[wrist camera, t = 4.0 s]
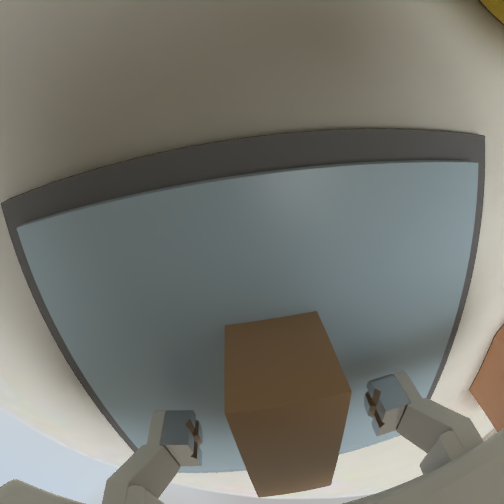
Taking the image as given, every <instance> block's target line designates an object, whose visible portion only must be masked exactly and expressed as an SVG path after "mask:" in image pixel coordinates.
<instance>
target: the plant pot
mask: <svg viewBox="0 0 504 504" xmlns="http://www.w3.org/2000/svg"><path fill="white" fill-rule="evenodd" d="M480 1H481V3H482V4H483V5H484V6H485V7H486V8H487V9H488V10H489V11H490V12H491V13H492V14H493V15H494V16H495V17H496V18H497V19H498V20H499V21H500V22H502V23H503V24H504V0H480Z"/></svg>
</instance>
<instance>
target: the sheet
mask: <svg viewBox="0 0 504 504" xmlns="http://www.w3.org/2000/svg"><path fill="white" fill-rule="evenodd" d="M477 188H478V162H474V161H470V160H403V161H377V162H359V163H345V164H332V165H320V166H309V167H299V168H290V169H281V170H273V171H265V172H257V173H250V174H243V175H236V176H229V177H223V178H216V179H210V180H204V181H198V182H193V183H187V184H182V185H176V186H171V187H166V188H161V189H156V190H151V191H146V192H142V193H137V194H132V195H128V196H123V197H119V198H115V199H111V200H106V201H102V202H98V203H94V204H90V205H86V206H83V207H79V208H75V209H71V210H68V211H64V212H60V213H57V214H53V215H50V216H47V217H43V218H40V219H37V220H33V221H30V222H27V223H24V224H22V225H21V226H19V227H17V231H18V235H19V238H20V241H21V244H22V247H23V250H24V253H25V256H26V258H27V261H28V264H29V266H30V269H31V272H32V274H33V277H34V279H35V282H36V284H37V287H38V289H39V291H40V294H41V296H42V298H43V300H44V303H45V305H46V307H47V309H48V311H49V313H50V315H51V317H52V319H53V321H54V323H55V325H56V327H57V329H58V331H59V333H60V335H61V337H62V339H63V341H64V343H65V344H66V346H67V348H68V350H69V352H70V353H71V355H72V357H73V358H74V360H75V362H76V364H77V365H78V367H79V368H80V370H81V372H82V373H83V375H84V377H85V378H86V380H87V381H88V383H89V384H90V386H91V387H92V389H93V390H94V392H95V393H96V395H97V396H98V398H99V399H100V401H101V402H102V403H103V405H104V406H105V408H106V409H107V410H108V412H109V413H110V414H111V416H112V417H113V418H114V420H115V421H116V422H117V424H118V425H119V426H120V427H121V429H122V430H123V431H124V432H125V434H126V435H127V436H128V437H129V439H130V440H131V441H132V442H133V443H134V445H135V446H136V447H137V448H138V449H139V448H140V447H141V446H142V445H146V444H147V438H148V433H149V428H150V423H151V418H152V414H153V412H154V410H194V412H195V414H196V420H198V421H199V422H200V424H201V428H202V434H203V443H202V444H201V445H200V446H199V447H200V449H201V451H202V466H180V467H181V468H180V469H179V471H178V472H179V473H208V472H231V471H244V470H247V472H248V474H249V477H250V479H251V481H252V483H253V486H254V488H255V490H256V493H257V495H258V497H267V496H275V495H282V494H289V493H295V492H300V491H306V490H311V489H316V488H321V487H325V486H329V485H331V482H332V478H333V474H334V471H335V467H336V463H337V459H338V455H339V454H343V453H346V452H350V451H354V450H357V449H361V448H364V447H367V446H370V445H374V444H377V443H380V442H383V441H386V440H388V439H391V438H394V437H397V436H399V435H400V434H399V433H398V432H396V430H395V431H392V432H389V433H386V434H383V435H380V436H376V434H375V432H374V429H373V427H372V424H371V423H372V420H373V418H372V417H370V416H368V415H367V412H366V410H365V406H364V396H365V393H366V392H367V391H368V389H367V387H366V386H367V383H368V381H370V380H373V379H376V378H380V377H383V376H386V375H389V374H393V373H396V372H399V371H402V370H404V371H406V373H407V374H408V376H409V377H410V379H411V380H412V382H413V384H414V385H415V387H416V389H417V390H418V392H419V393H420V395H421V397H422V398H426V397H427V395H428V392H429V390H430V388H431V385H432V383H433V381H434V378H435V376H436V373H437V371H438V368H439V366H440V363H441V360H442V357H443V355H444V352H445V349H446V346H447V343H448V340H449V337H450V334H451V331H452V328H453V324H454V321H455V317H456V314H457V310H458V307H459V303H460V299H461V295H462V291H463V286H464V282H465V277H466V273H467V268H468V262H469V257H470V251H471V245H472V238H473V231H474V223H475V213H476V202H477Z"/></svg>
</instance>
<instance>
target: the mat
mask: <svg viewBox="0 0 504 504" xmlns="http://www.w3.org/2000/svg"><path fill="white" fill-rule="evenodd" d="M403 160H470V161H474V162H478V188H477V202H476V213H475V223H474V231H473V238H472V245H471V251H470V257H469V262H468V268H467V273H466V277H465V282H464V286H463V291H462V295H461V299H460V303H459V307H458V310H457V314H456V317H455V321H454V324H453V328H452V331H451V334H450V337H449V340H448V343H447V346H446V349H445V352H444V355H443V357H442V360H441V363H440V366H439V368H438V371H437V373H436V376H435V378H434V381H433V383H432V385H431V388H430V390H429V392H428V395H427V397H426V398H428V399H431V396H432V394H433V392H434V390H435V388H436V385H437V383H438V381H439V378H440V376H441V374H442V371H443V369H444V366H445V364H446V361H447V358H448V356H449V353H450V350H451V347H452V345H453V342H454V339H455V336H456V333H457V330H458V326H459V323H460V320H461V317H462V313H463V310H464V306H465V302H466V299H467V295H468V291H469V287H470V282H471V278H472V273H473V268H474V263H475V258H476V253H477V247H478V241H479V234H480V226H481V218H482V209H483V197H484V181H485V136H484V135H477V134H468V133H458V132H447V131H433V130H413V129H342V130H322V131H306V132H294V133H283V134H273V135H264V136H256V137H248V138H240V139H233V140H226V141H220V142H214V143H208V144H202V145H196V146H191V147H186V148H181V149H176V150H171V151H166V152H161V153H157V154H152V155H148V156H144V157H139V158H135V159H131V160H127V161H123V162H120V163H116V164H112V165H109V166H105V167H101V168H98V169H94V170H91V171H88V172H84V173H81V174H78V175H75V176H72V177H69V178H66V179H63V180H60V181H57V182H54V183H51V184H48V185H45V186H42V187H40V188H37V189H34V190H32V191H29V192H26V193H24V194H21V195H19V196H16V197H14V198H11V199H9V200H7V201H4V202H2V203H1V205H2V209H3V213H4V217H5V220H6V224H7V227H8V230H9V234H10V237H11V240H12V243H13V246H14V249H15V252H16V255H17V258H18V260H19V263H20V266H21V268H22V271H23V273H24V276H25V278H26V281H27V283H28V286H29V288H30V290H31V293H32V295H33V297H34V299H35V302H36V304H37V306H38V308H39V310H40V312H41V314H42V316H43V318H44V320H45V322H46V324H47V326H48V328H49V330H50V332H51V334H52V336H53V338H54V340H55V341H56V343H57V345H58V347H59V349H60V350H61V352H62V354H63V355H64V357H65V359H66V361H67V362H68V364H69V365H70V367H71V369H72V370H73V372H74V373H75V375H76V377H77V378H78V380H79V381H80V383H81V384H82V386H83V387H84V389H85V390H86V392H87V393H88V394H89V396H90V397H91V399H92V400H93V402H94V403H95V404H96V406H97V407H98V408H99V410H100V411H101V412H102V414H103V415H104V416H105V418H106V419H107V420H108V422H109V423H110V424H111V425H112V427H113V428H114V429H115V430H116V431H117V433H118V434H119V435H120V436H121V437H122V439H123V440H124V441H125V442H126V443H127V444H128V446H129V447H130V448H131V449H132V450H133V451H134V452H136V451H137V450H138V448H137V447H136V446H135V445H134V443H133V442H132V441H131V440H130V439H129V437H128V436H127V435H126V434H125V432H124V431H123V430H122V429H121V427H120V426H119V425H118V424H117V422H116V421H115V420H114V418H113V417H112V416H111V414H110V413H109V412H108V410H107V409H106V408H105V406H104V405H103V403H102V402H101V401H100V399H99V398H98V396H97V395H96V393H95V392H94V390H93V389H92V387H91V386H90V384H89V383H88V381H87V380H86V378H85V377H84V375H83V373H82V372H81V370H80V368H79V367H78V365H77V364H76V362H75V360H74V358H73V357H72V355H71V353H70V352H69V350H68V348H67V346H66V344H65V343H64V341H63V339H62V337H61V335H60V333H59V331H58V329H57V327H56V325H55V323H54V321H53V319H52V317H51V315H50V313H49V311H48V309H47V307H46V305H45V303H44V300H43V298H42V296H41V294H40V291H39V289H38V287H37V284H36V282H35V279H34V277H33V274H32V272H31V269H30V266H29V264H28V261H27V258H26V256H25V253H24V250H23V247H22V244H21V241H20V238H19V235H18V231H17V227H19V226H21V225H22V224H24V223H27V222H30V221H33V220H37V219H40V218H43V217H47V216H50V215H53V214H57V213H60V212H64V211H68V210H71V209H75V208H79V207H83V206H86V205H90V204H94V203H98V202H102V201H106V200H111V199H115V198H119V197H123V196H128V195H132V194H137V193H142V192H146V191H151V190H156V189H161V188H166V187H171V186H176V185H182V184H187V183H193V182H198V181H204V180H210V179H216V178H223V177H229V176H236V175H243V174H250V173H257V172H265V171H273V170H281V169H290V168H299V167H309V166H320V165H332V164H345V163H359V162H377V161H403Z"/></svg>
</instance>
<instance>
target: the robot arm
mask: <svg viewBox="0 0 504 504" xmlns="http://www.w3.org/2000/svg"><path fill="white" fill-rule="evenodd" d="M366 387H367V389H368V391H367V392H366V393H365V396H364V406H365V410H366V412H367V415H368V416H370V417H372V418H373V420H372V423H371V424H372V427H373V429H374V432H375V434H376V436H380V435H383V434H386V433H389V432H392V431H395V430H396V432H398V433H399V434H400V435H402V436H403V437H405V438H406V439H408V440H409V441H410V442H412V443H413V444H415V445H416V446H418V447H419V448H421V449H422V450H423V451H425V452H426V453H428V454H427V455H426V456H425V458H424V459H423V460H422V462H421V463H420V468H421V470H422V472H423V475H422V476H419V477H417V478H415V479H413V480H410V481H408V482H405V483H403V484H401V485H398V486H395V487H393V488H390V489H388V490H385V491H382V492H379V493H376V494H373V495H370V496H367V497H364V498H361V499H358V500H354V501H351V502H347V503H343V504H504V428H503V429H501V430H500V431H499V432H497V433H496V434H494V435H493V436H491V437H490V438H488V439H487V440H485V441H483V439H482V438H481V436H480V434H479V433H478V431H477V429H476V428H475V426H474V425H473V423H472V421H471V420H470V419H469V418H467V417H465V416H463V415H461V414H459V413H456V412H454V411H452V410H450V409H448V408H446V407H444V406H442V405H440V404H438V403H436V402H434V401H432V400H430V399H428V398H422V397H421V395H420V393H419V392H418V390H417V389H416V387H415V385H414V384H413V382H412V380H411V379H410V377H409V376H408V374H407V373H406V371H404V370H402V371H399V372H396V373H393V374H389V375H386V376H383V377H380V378H376V379H373V380H370V381H368V383H367V386H366ZM202 443H203V434H202V428H201V424H200V422H199V421H198V420H196V414H195V412H194V410H154V412H153V414H152V418H151V423H150V428H149V433H148V438H147V444H146V445H142V446H141V447H140V448H139V449H138V450H137V451H136V452H135V453H134V454H133V455H132V456H131V457H130V458H129V459H128V460H127V461H126V462H125V463H124V464H123V465H122V466H121V467H120V468H119V469H118V470H117V471H116V472H115V473H114V474H113V475H112V476H111V477H110V478H109V479H108V480H107V482H106V487H105V491H104V497H103V501H102V504H164V503H163V502H161V501H160V500H159V499H158V498H159V496H160V495H161V494H162V492H163V491H164V490H165V488H166V487H167V486H168V484H169V483H170V482H171V480H172V479H173V478H174V476H175V475H176V473H177V472H178V471H179V469H180V468H181V467H180V466H202V451H201V449H200V447H199V446H200V445H201V444H202ZM0 504H84V503H80V502H77V501H74V500H71V499H67V498H64V497H61V496H58V495H55V494H52V493H50V492H47V491H44V490H42V489H39V488H37V487H34V486H32V485H29V484H27V483H24V482H22V481H20V480H11V481H9V482H7V483H6V484H4V485H3V486H1V487H0Z"/></svg>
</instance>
